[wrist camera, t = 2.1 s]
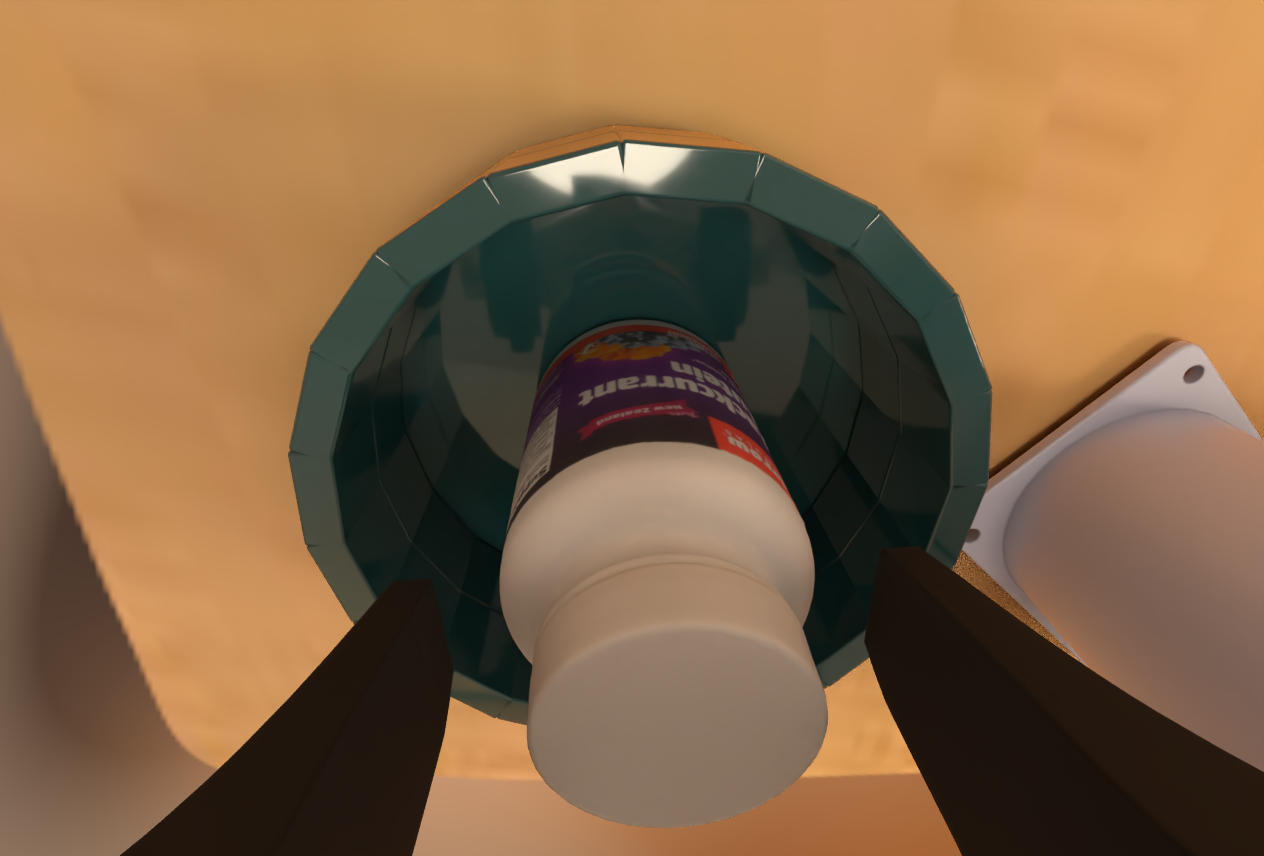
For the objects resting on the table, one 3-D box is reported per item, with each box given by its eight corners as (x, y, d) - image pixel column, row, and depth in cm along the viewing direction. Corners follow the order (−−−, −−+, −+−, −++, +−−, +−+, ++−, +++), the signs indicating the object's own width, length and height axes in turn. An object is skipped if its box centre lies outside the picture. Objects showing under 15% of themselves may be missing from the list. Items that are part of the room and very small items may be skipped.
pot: (956, 154, 15) (1112, 183, 10) (823, 603, 21) (885, 741, 16) (342, 99, 13) (219, 102, 9) (397, 591, 20) (340, 736, 15)
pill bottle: (769, 346, 16) (966, 633, 8) (695, 513, 19) (784, 878, 10) (562, 285, 15) (521, 538, 7) (512, 470, 18) (434, 835, 9)
